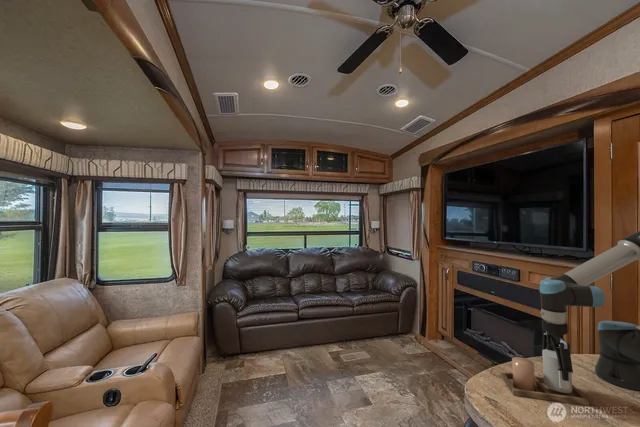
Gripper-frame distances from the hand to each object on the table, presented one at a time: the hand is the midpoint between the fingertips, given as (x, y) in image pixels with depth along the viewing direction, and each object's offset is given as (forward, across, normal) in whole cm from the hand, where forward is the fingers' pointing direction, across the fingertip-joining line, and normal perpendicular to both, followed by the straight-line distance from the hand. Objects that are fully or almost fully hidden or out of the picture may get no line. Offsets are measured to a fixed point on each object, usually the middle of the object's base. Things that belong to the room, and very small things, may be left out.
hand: (557, 381), depth 102 cm
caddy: (+5, 0, -6) cm, 7 cm away
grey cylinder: (+2, 0, 0) cm, 2 cm away
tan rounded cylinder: (+4, 0, -11) cm, 12 cm away
